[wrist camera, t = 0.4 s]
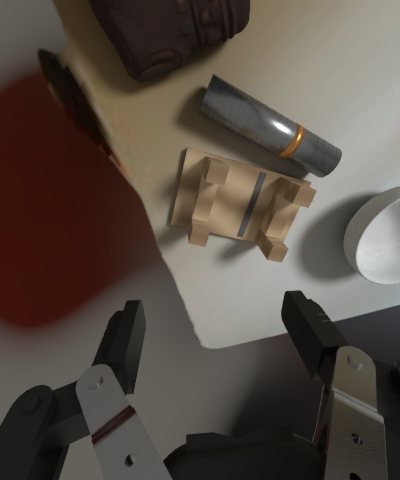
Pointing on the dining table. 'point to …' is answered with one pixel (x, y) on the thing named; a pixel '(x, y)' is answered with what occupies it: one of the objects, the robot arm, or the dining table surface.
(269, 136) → the tube
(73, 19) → the dining table surface
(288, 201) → the cradle board
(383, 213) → the cereal bowl
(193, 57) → the dining table surface
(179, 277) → the dining table surface
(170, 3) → the dark brown boot
